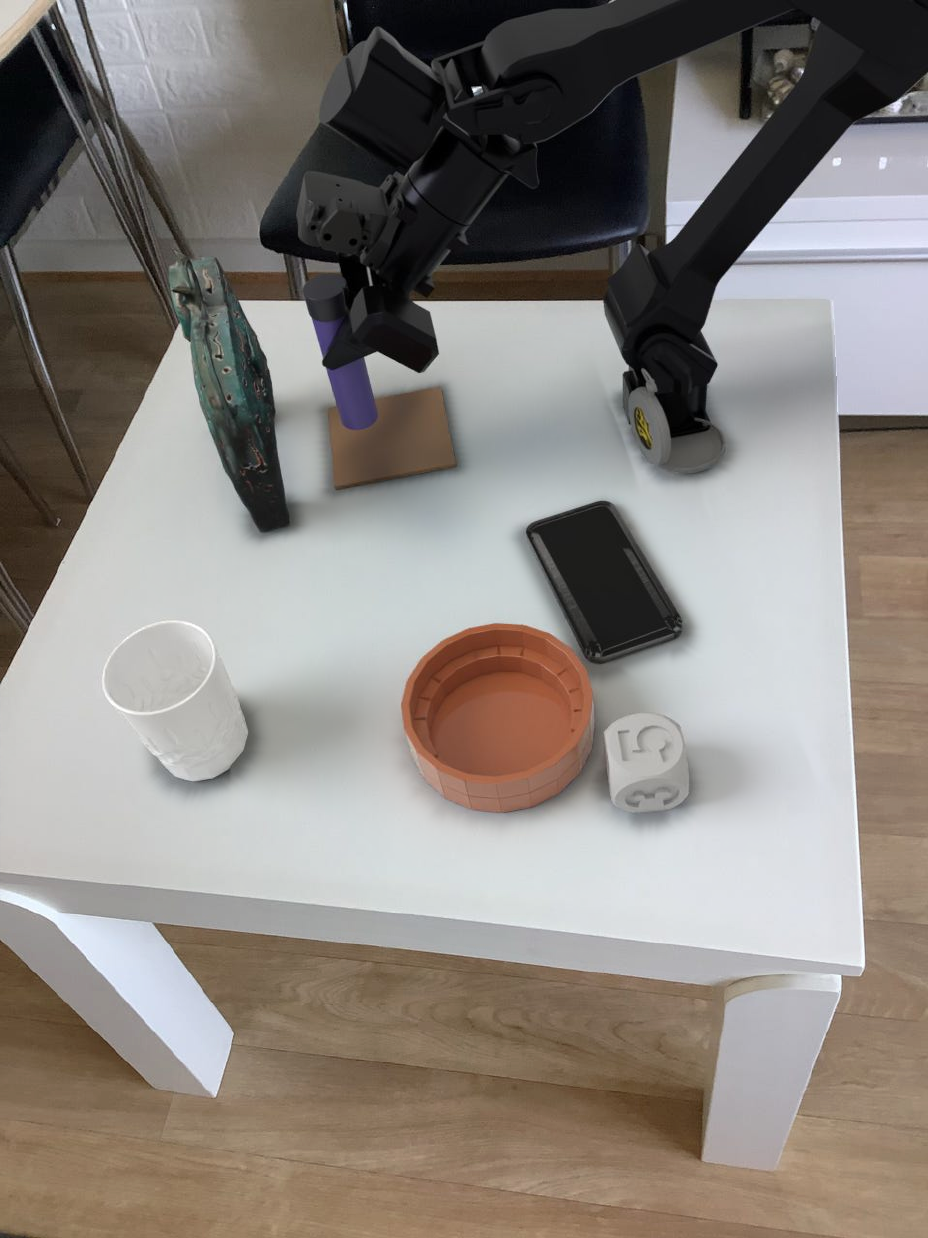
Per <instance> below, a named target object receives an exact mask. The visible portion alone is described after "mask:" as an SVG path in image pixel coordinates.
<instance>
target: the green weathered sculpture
mask: <svg viewBox="0 0 928 1238" xmlns="http://www.w3.org/2000/svg"><path fill="white" fill-rule="evenodd" d="M170 249H171V250H172V252H173V253H174V255H175V258H176V261H175V262H174V263H173V264H172V265H169V267H168V282H169V289H170V295H171V300H172V304H173V308H174V311H175V314H176V316H177V320H178V322H179V324H180V326H181V333H182V337H183V338H184V339H185V340H187V341H188V342H189V343H190V354H191V355H190V356H191V363H192V373H193V381H194V386H195V389H196V392H197V396H198V401H199V402H198V403H199V406H200V409H201V412H202V413H203V416H204V419H205V421H206V424H207V427H208V431H209V433H210V436H211V438H212V440H213V443H214V446H215V448H216V451H217V453H218V455H219V459H220V461H221V465H222V468H223V470H224V472H225V474H226V475H227V477H228V478H229V479H230V482H231V484H232V486H233V488H234V491H235V493H236V494H237V495H238V498H239V500H240V501H241V504H243V505H244V507H245V508H246V510H247V511H248V513H249V514H250V518H251V520H252V521H253V523H254V525H255V526H256V528H257V530H258V531H259V532H260V533H266V532H269V531H273V530H275V529H277V528H283V527H287V526H290V524H291V521H290V511H289V509H288V506H287V500H286V493H285V491H286V490H285V486H284V480H283V476H282V468H281V463H280V457H279V451H278V442H277V436H276V427H275V418H276V407H275V406H276V405H275V399H274V398H275V397H274V390H273V382H272V376H271V371H270V368H269V366H268V359H267V355H266V353H265V352H264V350H263V349H262V347H261V344H260V341H259V339H258V338H259V337H258V335H257V333H256V332H255V330H254V329H253V326H252V325H251V324H250V322H249V320H248V318H247V316H246V314H245V312H244V310H243V307H242V305H241V302H240V301H239V299H238V297H237V295H236V292H235V291H234V289H233V286H232V283H231V282H230V279H229V277H228V275H227V274H226V272H225V270H224V268H223V267H222V265H221V263H220V261H219V259H218V258H217V256H213V255H212V256H203V257H198V258H191V257H189V256H188V255H185V254H184V253H182V252H181V251H179V249H177V248H175V247H170Z"/></svg>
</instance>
